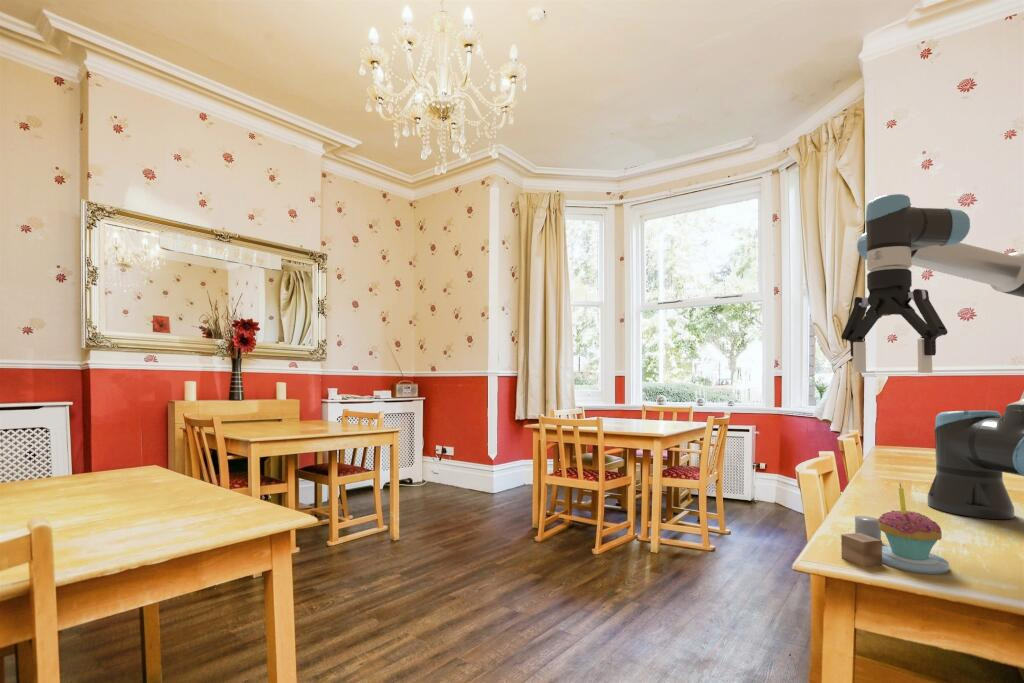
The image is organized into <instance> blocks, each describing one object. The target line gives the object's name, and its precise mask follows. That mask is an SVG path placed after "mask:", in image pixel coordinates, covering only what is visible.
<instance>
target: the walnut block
mask: <svg viewBox="0 0 1024 683" xmlns="http://www.w3.org/2000/svg"><path fill="white" fill-rule="evenodd" d="M840 540H841V545H840V546H841V559H843V560H845V561H848V562H850V563H853V564H856V565H858V566H861V567H862V568H864V567H865V568H866V567H873V566H882V565H883V563H882V546H883V541H882V539H881V540H879V539H876V538H873V537H870V536H867V535H864V534H861V533H843V534H842V533H841V538H840Z"/></svg>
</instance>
